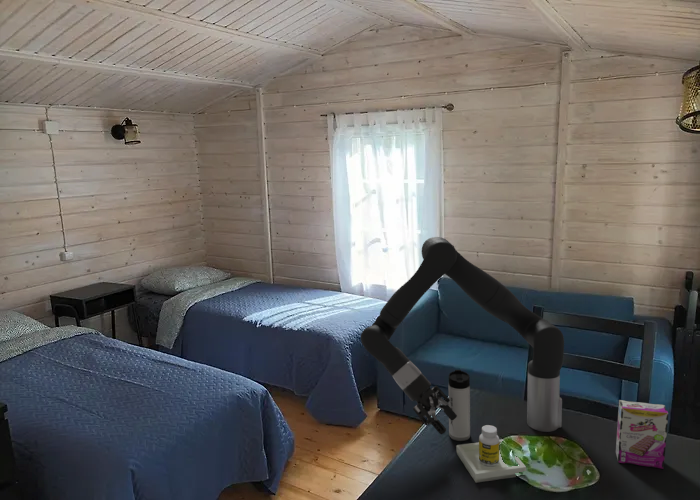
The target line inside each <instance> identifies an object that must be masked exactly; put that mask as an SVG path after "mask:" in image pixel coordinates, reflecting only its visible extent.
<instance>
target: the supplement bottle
mask: <svg viewBox="0 0 700 500" xmlns="http://www.w3.org/2000/svg"><path fill="white" fill-rule="evenodd" d="M499 440H500V437H499V435H498V428H497V427H496V426H494V425H491V424H490V425H489V424H486V425H483V426H482V427H481V434H479V437H478V442H479V461H480V462H481V463H482V464H483V465H486V466H495V465H497V464H498V463H499Z"/></svg>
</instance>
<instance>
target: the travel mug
mask: <svg viewBox="0 0 700 500" xmlns="http://www.w3.org/2000/svg"><path fill="white" fill-rule="evenodd" d="M470 379H471V378H470V375H469V373H467V371H466V372H465V371H462V370H461V369H454V371H451V372H449V374H448V398H449V399H450V401H449V407H450V408H451V409H452V410H453V411H454V412H455V414H456V415H457V417H456V418H455V419H454V420H450V419H449V418H448V436H449V437H450V438H451V440H454V441H457V442H464V441H467V440H469V439H470V438H471V385H470V381H471V380H470Z"/></svg>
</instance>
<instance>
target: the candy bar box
mask: <svg viewBox="0 0 700 500" xmlns="http://www.w3.org/2000/svg"><path fill="white" fill-rule="evenodd" d="M668 421H669V412H668V410H667V408H666V405H665V404H659V403H649V402H638V401H631V400H622V399H619V400H618V412H617V429H616V444H615V455H616V458H617V462H618V463H621V464H627V465H633V466H642V467H647V468H656V469H663V470H664V467H665V457H666V445H667V433H668Z"/></svg>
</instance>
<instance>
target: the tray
mask: <svg viewBox="0 0 700 500" xmlns="http://www.w3.org/2000/svg"><path fill="white" fill-rule="evenodd" d="M503 440H504V439H502V438H499V445H500V443H501V442H502V441H503ZM456 455H457V456H458V458H459V459H460V461H461V463H462V464H463V465H464V467H465V469H466V470H467V471H468V473H469V475H470V476H471V477H472V479H473V481H474V483H476V484H477V483H482V482H483V483H484V482H489V481H491V482H492V481H496V480H504V479H512V478H517V477H516V475H515V473H519V472H523V471H526V472H527V466H526V465H525V464H524V463H523V461H522V460H521V459H520V458H519V457H518V456H517V455H516V456H517V457H516V456H515V460H516V462H517V463H518V465H519V466H512V467H507V466H506V464H505V463H504V462H503V460H502V457H501V454H500V450H499V463H498V464H497V465H495V466H486V465H483V464H482V463H481V462H480V461H479V441H478V442H472V443H462V444H457V445H456Z"/></svg>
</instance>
